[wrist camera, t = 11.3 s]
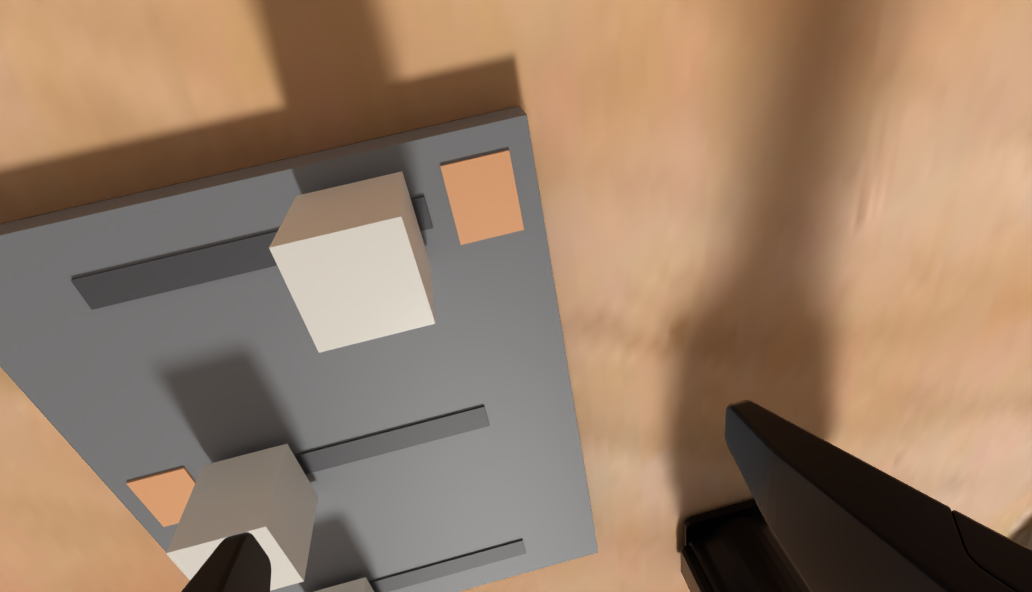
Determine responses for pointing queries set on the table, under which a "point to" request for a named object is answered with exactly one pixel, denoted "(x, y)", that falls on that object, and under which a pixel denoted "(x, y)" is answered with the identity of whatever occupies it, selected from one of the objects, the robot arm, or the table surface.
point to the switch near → (356, 262)
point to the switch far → (350, 587)
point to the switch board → (319, 360)
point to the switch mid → (250, 513)
